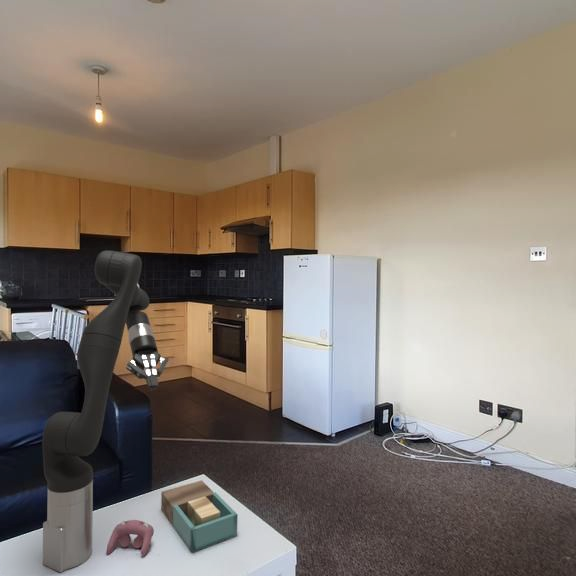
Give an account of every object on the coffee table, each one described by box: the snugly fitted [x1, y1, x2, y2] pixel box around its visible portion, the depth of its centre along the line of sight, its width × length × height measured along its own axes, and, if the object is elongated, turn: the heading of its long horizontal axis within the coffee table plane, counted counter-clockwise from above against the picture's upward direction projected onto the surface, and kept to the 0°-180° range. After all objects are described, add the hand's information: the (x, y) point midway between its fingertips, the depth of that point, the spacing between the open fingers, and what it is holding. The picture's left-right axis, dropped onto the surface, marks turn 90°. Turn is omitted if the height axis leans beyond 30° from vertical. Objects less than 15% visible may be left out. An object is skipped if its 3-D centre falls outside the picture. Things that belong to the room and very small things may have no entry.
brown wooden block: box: [160, 480, 215, 527], centre depth 115 cm, size 9×12×5 cm
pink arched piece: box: [106, 519, 155, 557], centre depth 99 cm, size 10×5×7 cm, turn 85°
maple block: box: [188, 496, 220, 527], centre depth 107 cm, size 5×5×9 cm
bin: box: [172, 491, 238, 554], centre depth 106 cm, size 13×12×6 cm
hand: (153, 388), depth 122 cm, fingers closed
